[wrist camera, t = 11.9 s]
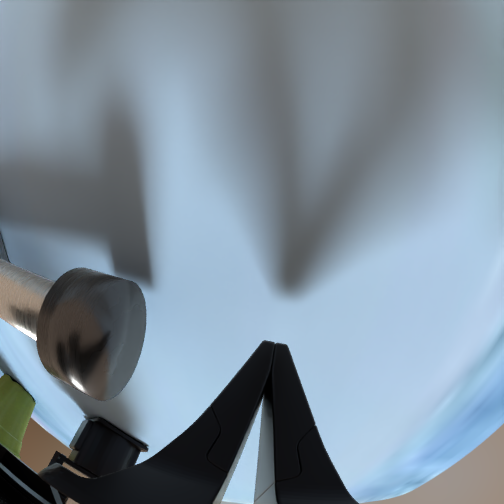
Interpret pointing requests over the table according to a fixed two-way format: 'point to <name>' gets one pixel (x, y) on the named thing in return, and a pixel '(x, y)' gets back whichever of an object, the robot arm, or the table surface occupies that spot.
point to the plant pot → (13, 414)
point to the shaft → (78, 325)
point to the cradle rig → (3, 251)
